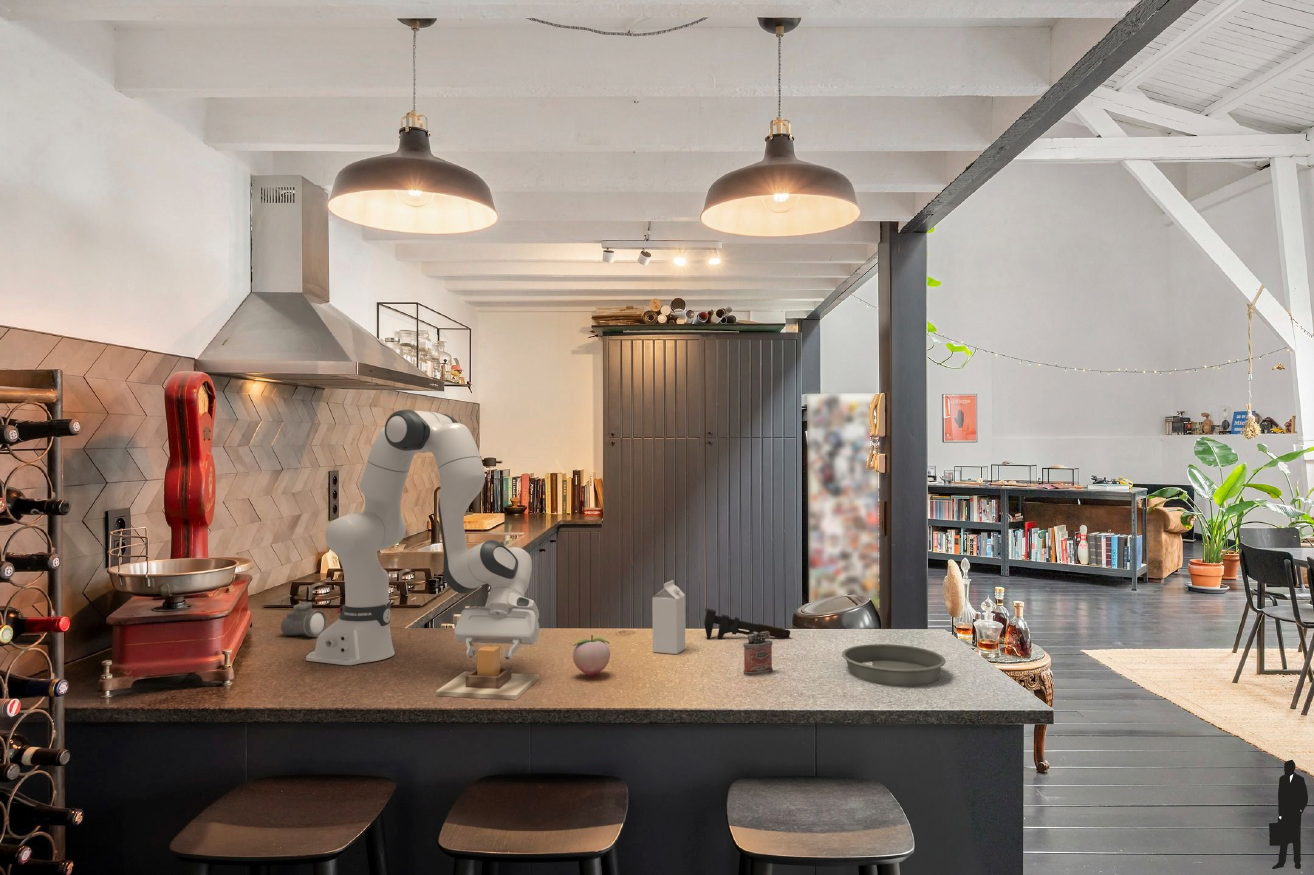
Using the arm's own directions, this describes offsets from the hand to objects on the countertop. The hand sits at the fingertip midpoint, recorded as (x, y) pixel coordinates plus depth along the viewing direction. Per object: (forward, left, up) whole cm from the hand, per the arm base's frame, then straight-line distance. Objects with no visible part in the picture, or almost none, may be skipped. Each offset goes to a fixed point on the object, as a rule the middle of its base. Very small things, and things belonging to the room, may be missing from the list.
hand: (488, 657), depth 179 cm
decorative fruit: (+22, +12, -7) cm, 26 cm away
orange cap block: (0, 0, -6) cm, 6 cm away
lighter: (+62, +21, -7) cm, 66 cm away
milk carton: (+37, +39, -7) cm, 54 cm away
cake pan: (+95, +26, -7) cm, 99 cm away
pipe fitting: (-75, +40, -7) cm, 85 cm away
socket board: (0, 0, -7) cm, 7 cm away
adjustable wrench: (+58, +56, -7) cm, 81 cm away
